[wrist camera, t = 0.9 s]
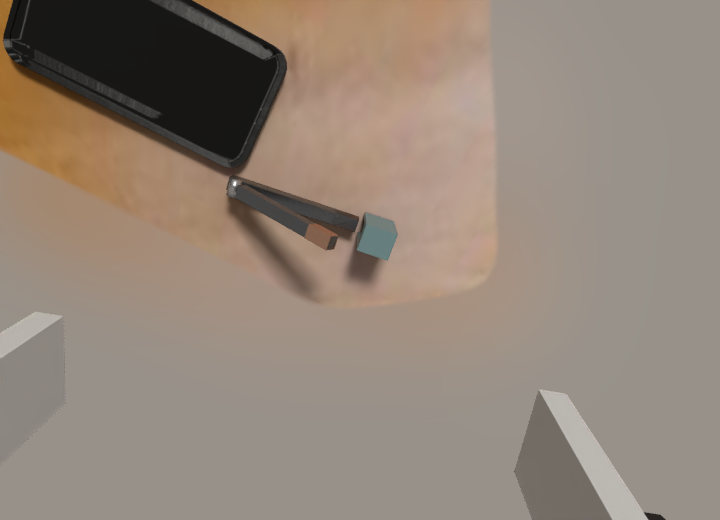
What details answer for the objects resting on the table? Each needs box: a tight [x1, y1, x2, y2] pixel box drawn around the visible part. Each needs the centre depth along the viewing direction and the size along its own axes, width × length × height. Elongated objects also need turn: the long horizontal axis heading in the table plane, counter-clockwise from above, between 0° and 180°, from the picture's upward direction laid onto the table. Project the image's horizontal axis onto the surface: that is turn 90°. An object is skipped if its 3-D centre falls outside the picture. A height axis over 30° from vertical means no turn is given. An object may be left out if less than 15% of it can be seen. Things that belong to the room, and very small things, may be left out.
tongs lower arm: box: [226, 175, 359, 232], centre depth 32 cm, size 8×1×1 cm, turn 71°
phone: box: [3, 0, 287, 167], centre depth 30 cm, size 8×1×15 cm
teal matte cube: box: [357, 212, 398, 261], centre depth 32 cm, size 2×2×3 cm
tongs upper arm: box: [226, 177, 339, 250], centre depth 29 cm, size 8×1×1 cm
